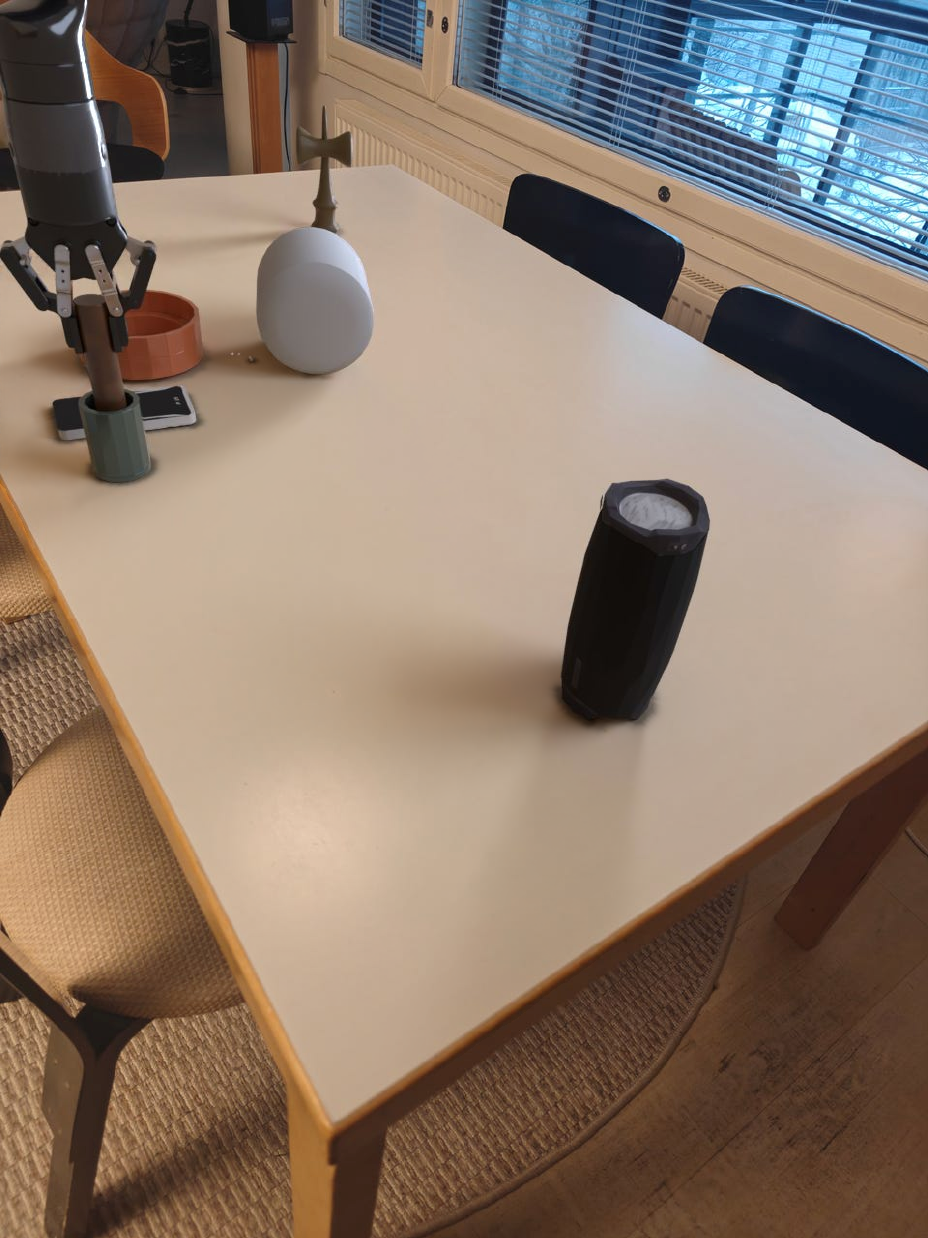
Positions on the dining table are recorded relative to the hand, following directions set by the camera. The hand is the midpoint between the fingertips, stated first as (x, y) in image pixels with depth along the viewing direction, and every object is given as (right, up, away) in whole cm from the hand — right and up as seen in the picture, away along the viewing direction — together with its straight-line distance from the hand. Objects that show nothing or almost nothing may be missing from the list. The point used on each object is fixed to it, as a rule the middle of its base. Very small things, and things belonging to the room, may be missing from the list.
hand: (99, 348), depth 84 cm
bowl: (-6, +8, +28) cm, 30 cm away
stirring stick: (-1, -8, +7) cm, 11 cm away
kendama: (+11, +44, +72) cm, 85 cm away
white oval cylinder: (+13, +13, +37) cm, 41 cm away
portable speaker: (+48, -33, -10) cm, 59 cm away
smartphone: (-4, -3, +17) cm, 18 cm away
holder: (-1, -10, +9) cm, 13 cm away
